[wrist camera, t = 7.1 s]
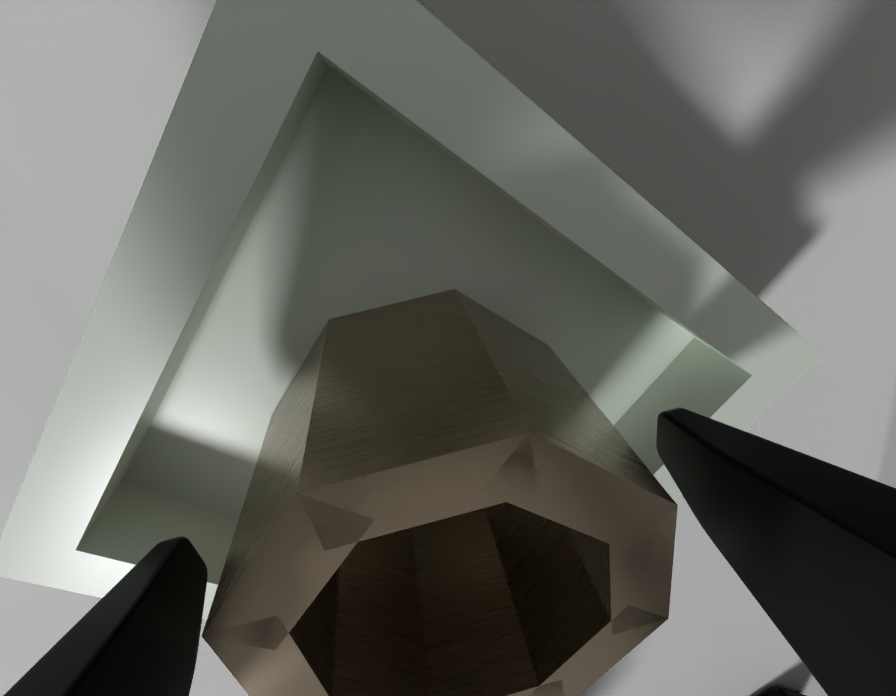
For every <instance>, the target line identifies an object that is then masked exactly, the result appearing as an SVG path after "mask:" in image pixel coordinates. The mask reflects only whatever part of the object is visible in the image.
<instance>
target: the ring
mask: <svg viewBox="0 0 896 696" xmlns="http://www.w3.org/2000/svg"><path fill="white" fill-rule="evenodd" d="M676 517H677V504H676V503H675V501H674V500H673V499H672V498H671V496H670V495H669V494H668V493H667V491H666V490H665V489H664V488H663V487H662V485H661V484H660V483H659V482H658V480H657V479H656V478H655V477H654V475H653V474H652V473H651V472H650V470H649V469H648V468H647V467H646V465H645V464H644V463H643V462H642V461H641V459H640V458H639V457H638V456H637V454H636V453H635V452H634V451H633V449H632V448H631V447H630V446H629V444H628V443H627V442H626V441H625V439H624V438H623V437H622V436H621V435H620V433H619V432H618V431H617V430H616V428H615V427H614V426H613V425H612V423H611V422H610V421H609V420H608V418H607V417H606V416H605V415H604V413H603V412H602V411H601V410H600V409H599V407H598V406H597V405H596V404H595V402H594V401H593V400H592V399H591V397H590V396H589V395H588V394H587V392H586V391H585V390H584V389H583V387H582V386H581V385H580V384H579V383H578V381H577V380H576V379H575V378H574V376H573V375H572V374H571V373H570V371H569V370H568V369H567V368H566V366H565V365H564V364H563V363H562V361H561V360H560V359H559V358H558V357H557V355H556V354H555V353H554V352H553V350H552V349H551V348H550V347H549V345H547V344H545V343H544V342H542V341H540V340H539V339H537V338H535V337H534V336H532V335H530V334H529V333H527V332H525V331H524V330H522V329H520V328H519V327H517V326H515V325H514V324H512V323H510V322H509V321H507V320H505V319H504V318H502V317H501V316H499V315H497V314H496V313H494V312H492V311H491V310H489V309H487V308H486V307H484V306H482V305H481V304H479V303H477V302H476V301H474V300H472V299H471V298H469V297H467V296H466V295H464V294H462V293H461V292H459V291H457V290H456V289H452V290H448V291H444V292H440V293H436V294H431V295H427V296H423V297H419V298H415V299H411V300H406V301H402V302H398V303H394V304H390V305H386V306H381V307H377V308H373V309H369V310H365V311H361V312H356V313H352V314H348V315H344V316H340V317H336V318H331V319H329V320H328V322H327V323H326V325H325V327H324V328H323V330H322V332H321V333H320V335H319V337H318V338H317V340H316V342H315V343H314V345H313V347H312V348H311V350H310V352H309V353H308V355H307V357H306V358H305V360H304V362H303V363H302V365H301V367H300V368H299V370H298V372H297V373H296V375H295V377H294V379H293V380H292V382H291V384H290V385H289V387H288V389H287V390H286V392H285V394H284V395H283V397H282V399H281V400H280V402H279V404H278V405H277V407H276V409H275V410H274V412H273V414H272V416H271V419H270V422H269V425H268V429H267V432H266V435H265V438H264V441H263V444H262V448H261V451H260V454H259V457H258V460H257V463H256V466H255V470H254V473H253V476H252V479H251V482H250V485H249V489H248V492H247V495H246V498H245V501H244V504H243V507H242V511H241V514H240V517H239V520H238V523H237V526H236V530H235V533H234V536H233V539H232V542H231V545H230V548H229V552H228V555H227V558H226V561H225V564H224V567H223V571H222V574H221V577H220V580H219V583H218V586H217V589H216V593H215V596H214V599H213V602H212V605H211V608H210V612H209V615H208V618H207V621H206V624H205V627H204V630H203V634H202V637H203V638H204V640H205V641H206V642H207V643H208V645H209V646H210V647H211V648H212V650H213V651H214V652H215V653H216V655H217V656H218V657H219V658H220V660H221V661H222V662H223V663H224V665H225V666H226V667H227V668H228V670H229V671H230V672H231V673H232V675H233V676H234V677H235V678H236V680H237V681H238V682H239V683H240V685H241V686H242V687H243V688H244V690H245V691H246V692H247V693H248V695H249V696H579V695H580V694H581V693H582V692H583V691H584V690H586V689H587V688H588V687H589V686H590V685H591V684H593V683H594V682H595V681H596V680H597V679H598V678H600V677H601V676H602V675H603V674H604V673H605V672H607V671H608V670H609V669H610V668H611V667H612V666H614V665H615V664H616V663H617V662H618V661H619V660H621V659H622V658H623V657H624V656H625V655H626V654H628V653H629V652H630V651H631V650H632V649H633V648H635V647H636V646H637V645H638V644H639V643H640V642H642V641H643V640H644V639H645V638H646V637H647V636H649V635H650V634H651V633H652V632H653V631H654V630H656V629H657V628H658V627H659V626H660V625H661V624H663V623H664V622H665V621H666V620H667V619H668V616H669V603H670V591H671V579H672V566H673V554H674V542H675V529H676Z"/></svg>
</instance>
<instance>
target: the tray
mask: <svg viewBox="0 0 896 696" xmlns="http://www.w3.org/2000/svg"><path fill="white" fill-rule="evenodd" d="M452 289H456V290H457V291H459V292H461V293H462V294H464V295H466V296H467V297H469V298H471V299H472V300H474V301H476V302H477V303H479V304H481V305H482V306H484V307H486V308H487V309H489V310H491V311H492V312H494V313H496V314H497V315H499V316H501V317H502V318H504V319H505V320H507V321H509V322H510V323H512V324H514V325H515V326H517V327H519V328H520V329H522V330H524V331H525V332H527V333H529V334H530V335H532V336H534V337H535V338H537V339H539V340H540V341H542V342H544V343H545V344H547V345H549V347H550V348H551V349H552V350H553V352H554V353H555V354H556V355H557V357H558V358H559V359H560V360H561V361H562V363H563V364H564V365H565V366H566V368H567V369H568V370H569V371H570V373H571V374H572V375H573V376H574V378H575V379H576V380H577V381H578V383H579V384H580V385H581V386H582V387H583V389H584V390H585V391H586V392H587V394H588V395H589V396H590V397H591V399H592V400H593V401H594V402H595V404H596V405H597V406H598V407H599V409H600V410H601V411H602V412H603V413H604V415H605V416H606V417H607V418H608V420H609V421H610V422H611V423H612V425H613V426H614V427H615V428H616V430H617V431H618V432H619V433H620V435H621V436H622V437H623V438H624V439H625V441H626V442H627V443H628V444H629V446H630V447H631V448H632V449H633V451H634V452H635V453H636V454H637V456H638V457H639V458H640V459H641V461H642V462H643V463H644V464H645V465H646V467H647V468H648V469H649V470H650V472H651V473H652V474H653V475H654V477H655V478H656V479H657V480H658V482H659V483H660V484H661V485H662V487H663V488H664V489H665V490H666V491H667V493H668V494H669V495H670V496H671V498H672V499H673V500H674V501H676V500H677V499H678V498H679V497H680V496H681V495H682V493H681V492H680V490H679V488H678V487H677V485H676V483H675V482H674V480H673V478H672V477H671V475H670V473H669V472H668V470H667V468H666V467H665V465H664V463H663V462H662V460H661V458H660V457H659V454H658V452H657V448H656V435H657V418H658V415H659V413H661V412H662V411H666V410H670V409H674V408H684V409H687V410H690V411H692V412H695V413H698V414H700V415H703V416H706V417H708V418H711V419H714V420H716V421H719V422H722V423H724V424H727V425H729V426H732V427H735V428H737V429H740V430H743V431H745V432H748V431H749V430H750V429H751V428H752V427H753V426H754V425H755V424H756V423H757V422H758V421H759V420H760V419H761V418H762V417H763V416H764V415H765V414H766V413H767V412H768V411H769V410H771V409H772V408H773V407H774V406H775V405H776V404H777V403H778V402H779V401H780V400H781V399H782V398H783V397H784V396H785V395H786V394H787V393H788V392H789V391H790V390H791V389H792V388H793V387H795V386H796V385H797V384H798V383H799V382H800V381H801V380H802V379H803V378H804V377H805V376H806V375H807V374H808V373H809V372H810V371H811V370H812V369H813V368H814V367H815V366H816V365H817V364H818V363H820V362H821V361H822V360H823V359H824V358H825V357H826V356H824V355H823V354H822V353H821V352H820V351H819V350H818V349H816V348H815V347H814V346H813V345H812V344H811V343H810V342H808V341H807V340H806V339H805V338H804V337H803V336H801V335H800V334H799V333H798V332H797V331H796V330H795V329H793V328H792V327H791V326H790V325H789V324H788V323H787V322H785V321H784V320H783V319H782V318H781V317H780V316H779V315H777V314H776V313H775V312H774V311H773V310H772V309H771V308H769V307H768V306H767V305H766V304H765V303H764V302H762V301H761V300H760V299H759V298H758V297H757V296H756V295H754V294H753V293H752V292H751V291H750V290H749V289H748V288H746V287H745V286H744V285H743V284H742V283H741V282H740V281H738V280H737V279H736V278H735V277H734V276H733V275H731V274H730V273H729V272H728V271H727V270H726V269H725V268H723V267H722V266H721V265H720V264H719V263H718V262H717V261H715V260H714V259H713V258H712V257H711V256H710V255H709V254H707V253H706V252H705V251H704V250H703V249H702V248H700V247H699V246H698V245H697V244H696V243H695V242H694V241H692V240H691V239H690V238H689V237H688V236H687V235H686V234H684V233H683V232H682V231H681V230H680V229H679V228H678V227H676V226H675V225H674V224H673V223H672V222H671V221H669V220H668V219H667V218H666V217H665V216H664V215H663V214H661V213H660V212H659V211H658V210H657V209H656V208H655V207H653V206H652V205H651V204H650V203H649V202H648V201H647V200H645V199H644V198H643V197H642V196H641V195H640V194H638V193H637V192H636V191H635V190H634V189H633V188H632V187H630V186H629V185H628V184H627V183H626V182H625V181H624V180H622V179H621V178H620V177H619V176H618V175H617V174H616V173H614V172H613V171H612V170H611V169H610V168H609V167H607V166H606V165H605V164H604V163H603V162H602V161H601V160H599V159H598V158H597V157H596V156H595V155H594V154H593V153H591V152H590V151H589V150H588V149H587V148H586V147H585V146H583V145H582V144H581V143H580V142H579V141H578V140H576V139H575V138H574V137H573V136H572V135H571V134H570V133H568V132H567V131H566V130H565V129H564V128H563V127H562V126H560V125H559V124H558V123H557V122H556V121H555V120H554V119H552V118H551V117H550V116H549V115H548V114H547V113H545V112H544V111H543V110H542V109H541V108H540V107H539V106H537V105H536V104H535V103H534V102H533V101H532V100H531V99H529V98H528V97H527V96H526V95H525V94H524V93H523V92H521V91H520V90H519V89H518V88H517V87H516V86H514V85H513V84H512V83H511V82H510V81H509V80H508V79H506V78H505V77H504V76H503V75H502V74H501V73H500V72H498V71H497V70H496V69H495V68H494V67H493V66H492V65H490V64H489V63H488V62H487V61H486V60H485V59H483V58H482V57H481V56H480V55H479V54H478V53H477V52H475V51H474V50H473V49H472V48H471V47H470V46H469V45H467V44H466V43H465V42H464V41H463V40H462V39H461V38H459V37H458V36H457V35H456V34H455V33H454V32H452V31H451V30H450V29H449V28H448V27H447V26H446V25H444V24H443V23H442V22H441V21H440V20H439V19H438V18H436V17H435V16H434V15H433V14H432V13H431V12H430V11H428V10H427V9H426V8H425V7H424V6H423V5H421V4H420V3H419V2H418V1H417V0H217V1H216V4H215V6H214V9H213V11H212V13H211V16H210V18H209V21H208V23H207V26H206V28H205V31H204V33H203V36H202V38H201V41H200V43H199V46H198V48H197V51H196V53H195V56H194V58H193V61H192V63H191V66H190V68H189V71H188V73H187V76H186V78H185V80H184V83H183V85H182V88H181V90H180V93H179V95H178V98H177V100H176V103H175V105H174V108H173V110H172V113H171V115H170V118H169V120H168V123H167V125H166V128H165V130H164V133H163V135H162V138H161V140H160V142H159V145H158V147H157V150H156V152H155V155H154V157H153V160H152V162H151V165H150V167H149V170H148V172H147V175H146V177H145V180H144V182H143V185H142V187H141V190H140V192H139V195H138V197H137V200H136V202H135V204H134V207H133V209H132V212H131V214H130V217H129V219H128V222H127V224H126V227H125V229H124V232H123V234H122V237H121V239H120V242H119V244H118V247H117V249H116V252H115V254H114V257H113V259H112V262H111V264H110V267H109V269H108V271H107V274H106V276H105V279H104V281H103V284H102V286H101V289H100V291H99V294H98V296H97V299H96V301H95V304H94V306H93V309H92V311H91V314H90V316H89V319H88V321H87V324H86V326H85V329H84V331H83V333H82V336H81V338H80V341H79V343H78V346H77V348H76V351H75V353H74V356H73V358H72V361H71V363H70V366H69V368H68V371H67V373H66V376H65V378H64V381H63V383H62V386H61V388H60V391H59V393H58V395H57V398H56V400H55V403H54V405H53V408H52V410H51V413H50V415H49V418H48V420H47V423H46V425H45V428H44V430H43V433H42V435H41V438H40V440H39V443H38V445H37V448H36V450H35V453H34V455H33V457H32V460H31V462H30V465H29V467H28V470H27V472H26V475H25V477H24V480H23V482H22V485H21V487H20V490H19V492H18V495H17V497H16V500H15V502H14V505H13V507H12V510H11V512H10V515H9V517H8V520H7V522H6V524H5V527H4V529H3V532H2V534H1V537H0V576H1V577H5V578H10V579H15V580H19V581H24V582H29V583H34V584H38V585H43V586H48V587H53V588H57V589H62V590H67V591H72V592H76V593H81V594H86V595H91V596H95V597H100V598H103V597H104V596H105V595H106V594H107V593H108V592H109V591H110V590H111V589H112V588H113V587H114V586H115V585H116V584H117V583H118V582H119V581H120V580H121V579H122V578H123V577H124V576H125V575H126V574H127V573H128V572H129V571H130V570H131V569H132V568H133V567H134V566H135V565H136V564H137V563H138V562H139V561H140V560H141V559H142V558H143V557H144V556H145V555H146V554H147V553H148V552H149V551H150V550H151V549H152V548H154V547H155V546H156V545H157V544H158V543H159V542H162V541H164V540H168V539H172V538H176V537H179V536H184V537H186V538H188V539H189V540H190V542H191V543H192V545H193V546H194V547H195V549H196V550H197V552H198V553H199V555H200V556H201V558H202V559H203V561H204V562H205V564H206V567H207V571H208V579H207V586H206V594H205V601H204V608H203V616H202V619H204V620H207V618H208V615H209V612H210V608H211V605H212V602H213V599H214V596H215V593H216V589H217V586H218V583H219V580H220V577H221V574H222V571H223V567H224V564H225V561H226V558H227V555H228V552H229V548H230V545H231V542H232V539H233V536H234V533H235V530H236V526H237V523H238V520H239V517H240V514H241V511H242V507H243V504H244V501H245V498H246V495H247V492H248V489H249V485H250V482H251V479H252V476H253V473H254V470H255V466H256V463H257V460H258V457H259V454H260V451H261V448H262V444H263V441H264V438H265V435H266V432H267V429H268V425H269V422H270V419H271V416H272V414H273V412H274V410H275V409H276V407H277V405H278V404H279V402H280V400H281V399H282V397H283V395H284V394H285V392H286V390H287V389H288V387H289V385H290V384H291V382H292V380H293V379H294V377H295V375H296V373H297V372H298V370H299V368H300V367H301V365H302V363H303V362H304V360H305V358H306V357H307V355H308V353H309V352H310V350H311V348H312V347H313V345H314V343H315V342H316V340H317V338H318V337H319V335H320V333H321V332H322V330H323V328H324V327H325V325H326V323H327V322H328V320H329V319H331V318H336V317H340V316H344V315H348V314H352V313H356V312H361V311H365V310H369V309H373V308H377V307H381V306H386V305H390V304H394V303H398V302H402V301H406V300H411V299H415V298H419V297H423V296H427V295H431V294H436V293H440V292H444V291H448V290H452Z"/></svg>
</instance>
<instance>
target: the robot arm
mask: <svg viewBox="0 0 896 696" xmlns="http://www.w3.org/2000/svg"><path fill="white" fill-rule="evenodd" d="M656 448H657V452H658V454H659V457H660V458H661V460H662V462H663V463H664V465H665V467H666V468H667V470H668V472H669V473H670V475H671V477H672V478H673V480H674V482H675V483H676V485H677V487H678V488H679V490H680V492H681V493H682V495H683V497H684V498H685V500H686V502H687V503H688V505H689V507H690V508H691V510H692V512H693V513H694V515H695V517H696V518H697V520H698V521H699V523H700V524H701V526H702V527H703V529H704V530H705V532H706V533H707V534H708V536H709V537H710V539H711V540H712V541H713V543H714V544H715V545H716V547H717V548H718V549H719V551H720V552H721V553H722V555H723V556H724V557H725V559H726V560H727V561H728V563H729V564H730V565H731V567H732V568H733V569H734V571H735V572H736V573H737V575H738V576H739V577H740V579H741V580H742V581H743V583H744V584H745V585H746V587H747V588H748V589H749V591H750V592H751V593H752V595H753V596H754V597H755V599H756V600H757V601H758V603H759V604H760V605H761V607H762V608H763V609H764V611H765V612H766V613H767V615H768V616H769V617H770V619H771V620H772V621H773V623H774V624H775V625H776V627H777V628H778V629H779V631H780V632H781V633H782V635H783V636H784V637H785V639H786V640H787V641H788V643H789V644H790V645H791V647H792V648H793V649H794V651H795V652H796V653H797V655H798V656H799V657H800V659H801V660H802V661H803V663H804V664H805V665H806V667H807V668H808V669H809V671H810V672H811V673H812V675H813V676H814V677H815V679H816V680H817V681H818V682H819V684H820V685H821V687H822V688H823V689H824V691H825V692H826V693H827V695H828V696H896V488H893V487H890V486H888V485H885V484H882V483H880V482H877V481H875V480H872V479H869V478H867V477H864V476H862V475H859V474H856V473H854V472H851V471H848V470H846V469H843V468H840V467H838V466H835V465H832V464H830V463H827V462H825V461H822V460H819V459H817V458H814V457H811V456H809V455H806V454H803V453H801V452H798V451H796V450H793V449H790V448H788V447H785V446H782V445H780V444H777V443H774V442H772V441H769V440H766V439H764V438H761V437H759V436H756V435H753V434H751V433H748V432H745V431H743V430H740V429H737V428H735V427H732V426H729V425H727V424H724V423H722V422H719V421H716V420H714V419H711V418H708V417H706V416H703V415H700V414H698V413H695V412H692V411H690V410H687V409H684V408H674V409H670V410H666V411H662V412H661V413H659V415H658V418H657V435H656ZM207 579H208V571H207V567H206V564H205V562H204V561H203V559H202V558H201V556H200V555H199V553H198V552H197V550H196V549H195V547H194V546H193V545H192V543H191V542H190V540H189V539H188V538H186V537H184V536H179V537H176V538H172V539H168V540H164V541H162V542H159V543H158V544H157V545H156V546H155V547H154V548H152V549H151V550H150V551H149V552H148V553H147V554H146V555H145V556H144V557H143V558H142V559H141V560H140V561H139V562H138V563H137V564H136V565H135V566H134V567H133V568H132V569H131V570H130V571H129V572H128V573H127V574H126V575H125V576H124V577H123V578H122V579H121V580H120V581H119V582H118V583H117V584H116V585H115V586H114V587H113V588H112V589H111V590H110V591H109V592H108V593H107V594H106V595H105V596H104V597H103V598H102V599H101V600H100V601H99V602H98V603H97V604H96V605H95V606H94V607H93V608H92V609H91V610H90V611H89V612H88V613H87V614H86V615H85V616H84V617H83V618H82V619H81V620H80V621H79V622H78V623H77V624H76V625H75V626H73V627H72V628H71V629H70V630H69V631H68V632H67V633H66V634H65V635H64V636H63V637H62V638H61V639H60V640H59V641H58V642H57V643H56V644H55V645H54V646H53V647H52V648H51V649H50V650H49V651H48V652H47V653H46V654H45V655H44V656H43V657H42V658H41V659H40V660H39V661H38V662H37V663H36V664H35V665H34V666H33V667H32V668H31V669H30V670H29V671H28V672H27V673H26V674H25V675H24V676H23V677H22V678H21V679H20V680H19V681H18V682H17V683H16V684H15V685H14V686H13V687H12V688H11V689H10V690H9V691H8V692H7V693H6V694H5V695H4V696H189V692H190V688H191V683H192V679H193V674H194V670H195V664H196V658H197V652H198V645H199V638H200V630H201V623H202V616H203V608H204V601H205V594H206V586H207ZM767 696H805V695H802V694H799V693H795V692H792V691H789V690H785V689H778V690H775V691H773V692H771V693H770V694H768V695H767Z"/></svg>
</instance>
